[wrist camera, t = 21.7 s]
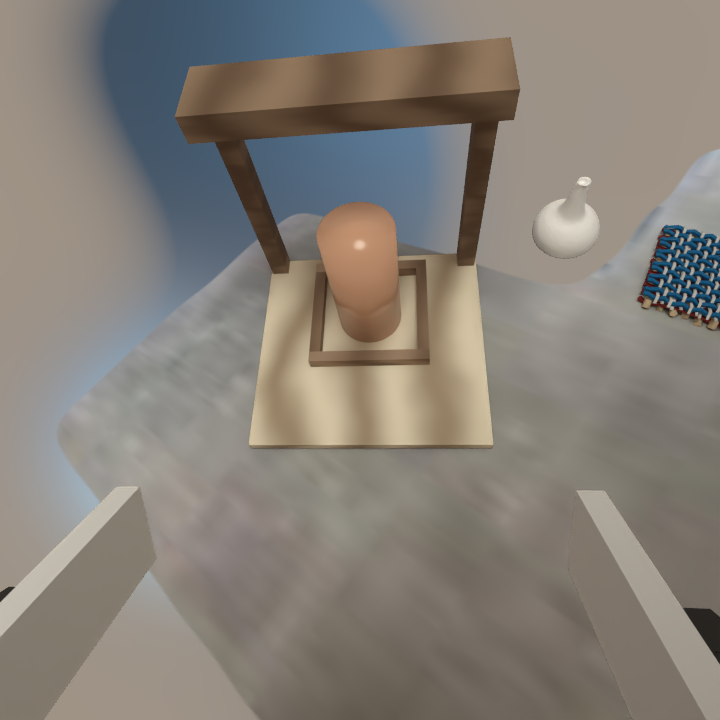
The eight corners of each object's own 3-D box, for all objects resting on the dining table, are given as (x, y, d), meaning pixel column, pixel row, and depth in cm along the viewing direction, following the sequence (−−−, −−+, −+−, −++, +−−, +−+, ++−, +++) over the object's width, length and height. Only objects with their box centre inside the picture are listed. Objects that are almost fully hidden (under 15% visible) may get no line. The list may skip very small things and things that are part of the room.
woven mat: (757, 350, 42) (772, 339, 41) (632, 309, 46) (641, 297, 44) (775, 262, 46) (790, 248, 44) (658, 230, 49) (667, 216, 47)
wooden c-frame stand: (473, 258, 49) (510, 37, 30) (491, 448, 41) (560, 309, 21) (276, 267, 52) (189, 66, 32) (252, 448, 43) (113, 323, 23)
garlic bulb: (550, 210, 52) (563, 146, 45) (606, 231, 49) (630, 167, 42) (519, 248, 50) (528, 188, 43) (576, 272, 47) (595, 212, 41)
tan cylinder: (401, 288, 48) (396, 199, 37) (401, 341, 45) (396, 262, 34) (341, 291, 48) (319, 204, 38) (338, 343, 46) (313, 266, 35)
